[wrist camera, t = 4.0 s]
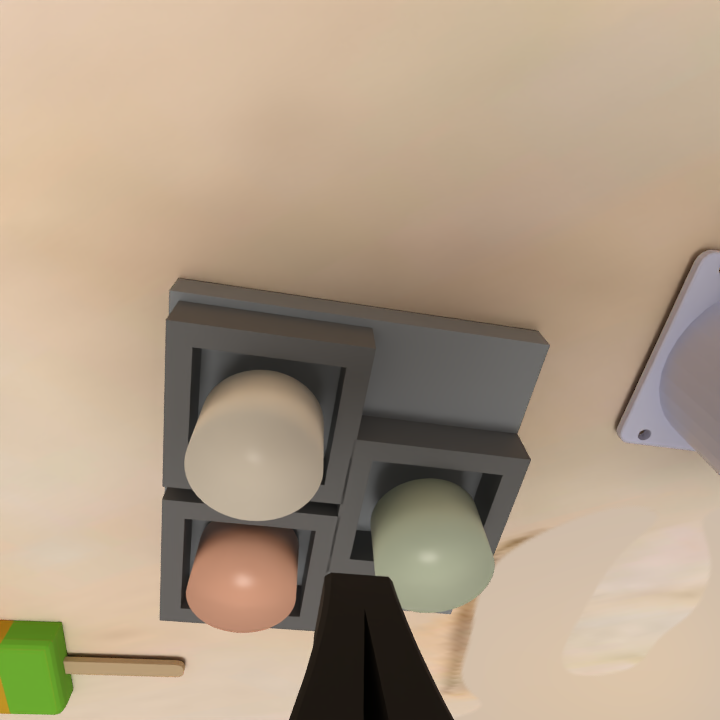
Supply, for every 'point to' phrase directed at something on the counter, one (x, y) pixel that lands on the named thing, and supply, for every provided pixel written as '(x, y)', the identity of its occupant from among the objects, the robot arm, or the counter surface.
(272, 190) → the counter surface
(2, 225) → the counter surface
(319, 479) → the cream button
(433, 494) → the sage button
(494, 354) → the grey compartment tray
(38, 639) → the striped ice pop
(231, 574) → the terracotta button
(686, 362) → the robot arm
